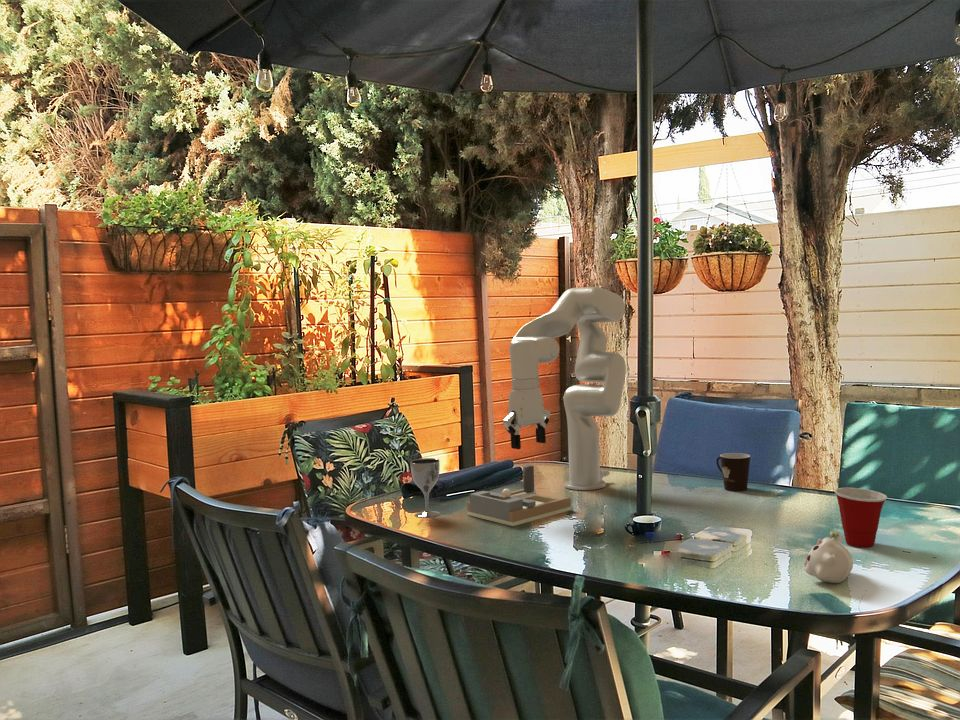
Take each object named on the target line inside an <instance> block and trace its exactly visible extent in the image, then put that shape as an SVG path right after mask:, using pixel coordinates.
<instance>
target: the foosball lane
mask: <svg viewBox="0 0 960 720" xmlns="http://www.w3.org/2000/svg"><path fill="white" fill-rule="evenodd" d="M490 492H491V491H485V490H481V491H476V492H473V493H472V492H471V493H469V501H467V502H466V506H467V507H466V509H467V516H469V517H474V518H477V519H478V518H479V519H483V520H487V521H491V522H493V523H494V522H495V523H498V524H502V525H506V526H510V527H515V526H518V525H522V524H526V523H529V522H533V521H537V520H540V519H544V518H547V517H550V516H554V515H558V514H562V513H565V512H569V511H571V509H572V506H571V504H572V503H571V497H569V496H566V497H565V496H564V497H561V498H558V497H557V498H556V497H551V496H546V495H542V494H537V493H536V495H535V496H532V497H528V498H524V499H528V500H532V501H536V506H532V507H525V506H523V499H520V498H511V499H507V500H501V499H496V498H492V497H490ZM519 493H524V488H522V489H517V490H512V491H511V495H515V494H519ZM511 495H510V496H511Z"/></svg>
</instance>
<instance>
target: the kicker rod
mask: <svg viewBox="0 0 960 720" xmlns="http://www.w3.org/2000/svg"><path fill="white" fill-rule="evenodd" d="M534 467H535V466H534V465H531V464H530V465H529V464H528V465H522V481H523V485H522V486H523V489H524V493H519V494H515V495H511V492H512V491H511V490H510V489H509V488H504V489H502V492H501V493H500V492H499V493H498V492H494V491H489V492H490V497H492V498H496V499H501V500H507V499H511V498H520V499H523V506H525V507H532V506H536V501H532V500H528V499H524V498H528V497H532V496H535V495H536V494H537V491H536V490H535V473H534V472H535V469H534ZM510 495H511V496H510Z"/></svg>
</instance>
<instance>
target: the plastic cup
mask: <svg viewBox="0 0 960 720" xmlns="http://www.w3.org/2000/svg"><path fill="white" fill-rule="evenodd" d="M834 494H835V495H836V500H837V505H838V507H839V514H840V520H841V525H842V529H843V535H844V540H845V542H846V545H847V546H850V547H854V548H866V549H867V548H872V547H874V546H875V543H876V539H877V538H876V537H877V532H878V528H879V524H880V518H881V514H882V509H883V506H884V503H885V501H886V500H887V499H888V496H887V495H886V494H884V493H882V492H879V491H877V490H876V491H875V490H872V489H868V488H858V487H838V488H836V489H834Z"/></svg>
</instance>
